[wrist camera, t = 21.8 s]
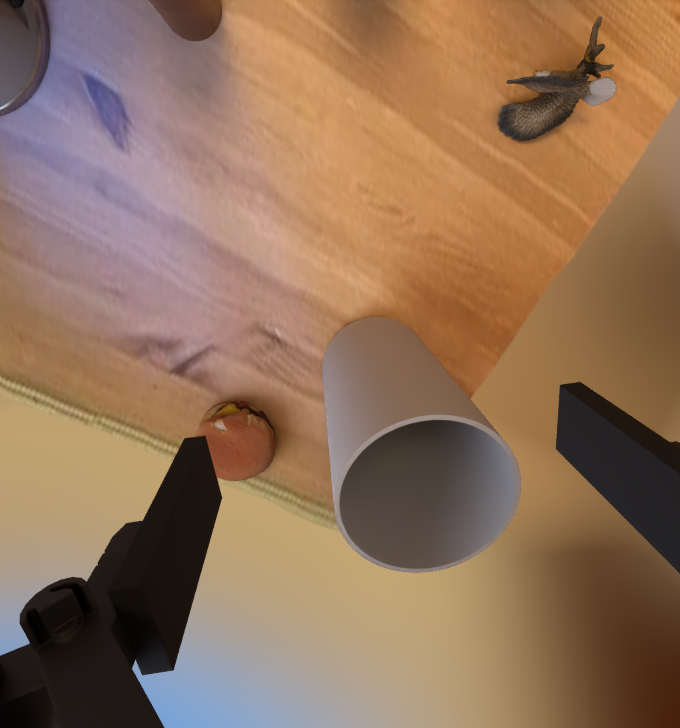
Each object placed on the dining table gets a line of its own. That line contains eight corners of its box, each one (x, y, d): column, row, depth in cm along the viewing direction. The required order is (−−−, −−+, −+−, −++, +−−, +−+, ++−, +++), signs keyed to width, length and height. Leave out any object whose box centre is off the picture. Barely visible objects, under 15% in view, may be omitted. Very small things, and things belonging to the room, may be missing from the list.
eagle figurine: (563, 10, 40) (487, 70, 40) (634, 19, 36) (549, 87, 36) (561, 92, 46) (495, 144, 46) (622, 108, 42) (549, 166, 42)
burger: (237, 479, 57) (231, 503, 52) (182, 432, 54) (171, 453, 49) (293, 433, 55) (292, 453, 51) (240, 382, 52) (234, 399, 48)
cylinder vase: (303, 387, 53) (301, 537, 29) (353, 295, 49) (395, 382, 26) (392, 427, 56) (454, 593, 32) (445, 343, 52) (558, 460, 29)
